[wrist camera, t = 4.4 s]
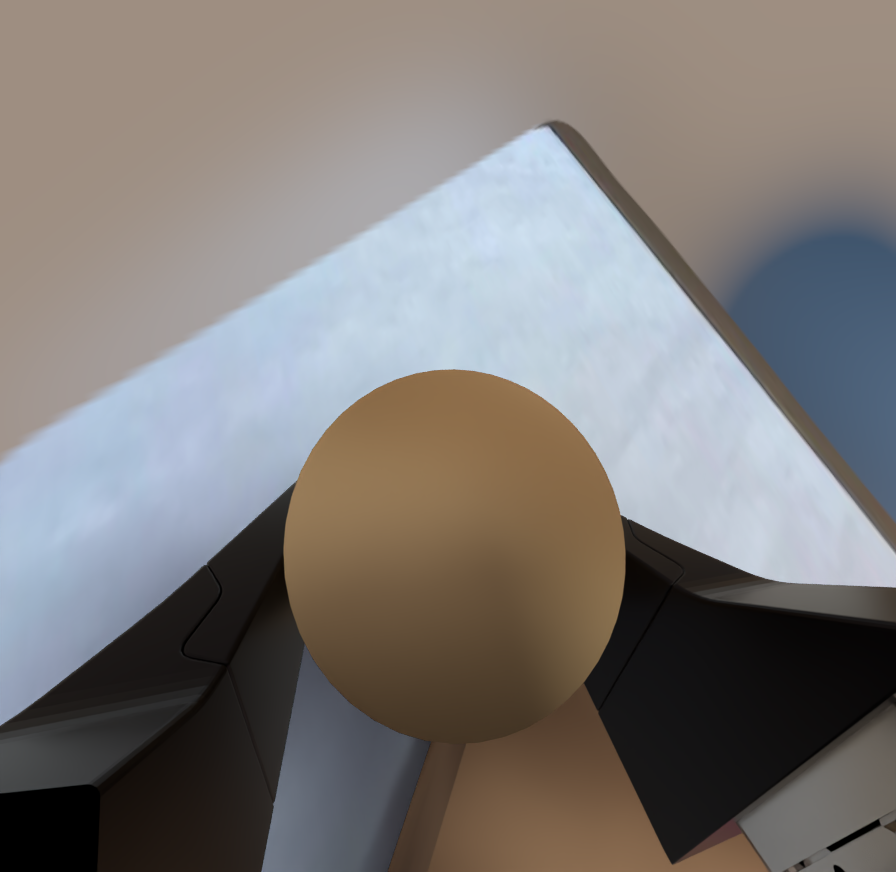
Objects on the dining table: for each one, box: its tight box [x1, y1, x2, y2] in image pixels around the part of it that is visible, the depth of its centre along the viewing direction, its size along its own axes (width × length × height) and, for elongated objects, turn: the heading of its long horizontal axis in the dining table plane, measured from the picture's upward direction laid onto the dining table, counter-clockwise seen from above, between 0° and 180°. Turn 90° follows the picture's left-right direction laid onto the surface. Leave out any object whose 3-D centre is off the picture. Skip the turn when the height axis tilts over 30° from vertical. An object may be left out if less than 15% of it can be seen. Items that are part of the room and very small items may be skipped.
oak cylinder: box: [284, 370, 625, 744], centre depth 10 cm, size 5×5×11 cm
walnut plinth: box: [388, 683, 768, 872], centre depth 13 cm, size 14×14×3 cm
